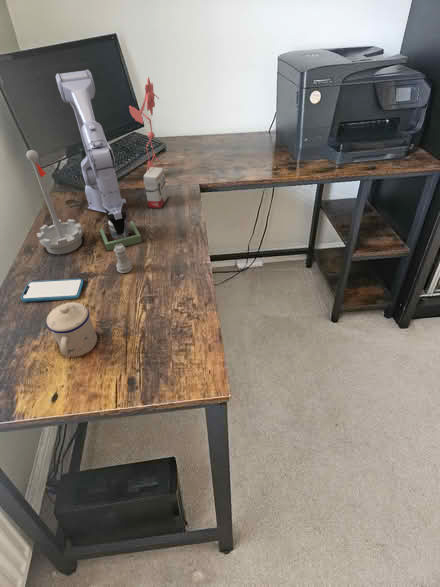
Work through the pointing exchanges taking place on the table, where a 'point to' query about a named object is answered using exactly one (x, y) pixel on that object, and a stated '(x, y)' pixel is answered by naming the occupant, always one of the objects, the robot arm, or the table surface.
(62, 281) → the smartphone
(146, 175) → the ink box
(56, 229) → the flag stand
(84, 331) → the teacup with lid
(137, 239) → the holder
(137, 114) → the figurine
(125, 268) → the rook chess piece
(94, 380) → the table surface
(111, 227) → the pill bottle
